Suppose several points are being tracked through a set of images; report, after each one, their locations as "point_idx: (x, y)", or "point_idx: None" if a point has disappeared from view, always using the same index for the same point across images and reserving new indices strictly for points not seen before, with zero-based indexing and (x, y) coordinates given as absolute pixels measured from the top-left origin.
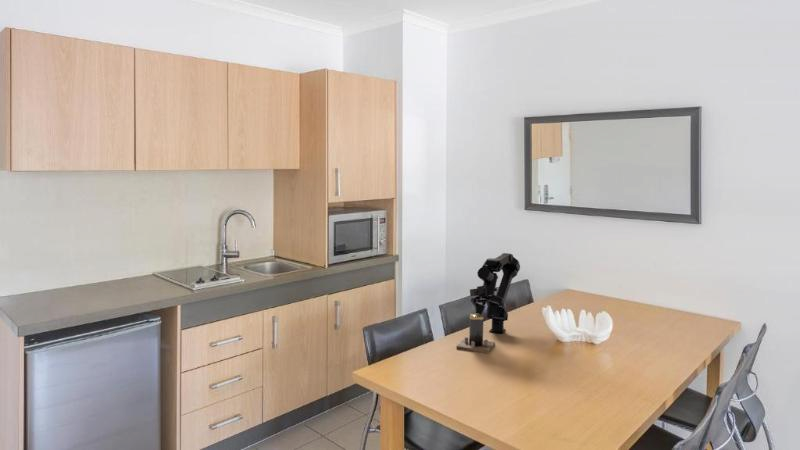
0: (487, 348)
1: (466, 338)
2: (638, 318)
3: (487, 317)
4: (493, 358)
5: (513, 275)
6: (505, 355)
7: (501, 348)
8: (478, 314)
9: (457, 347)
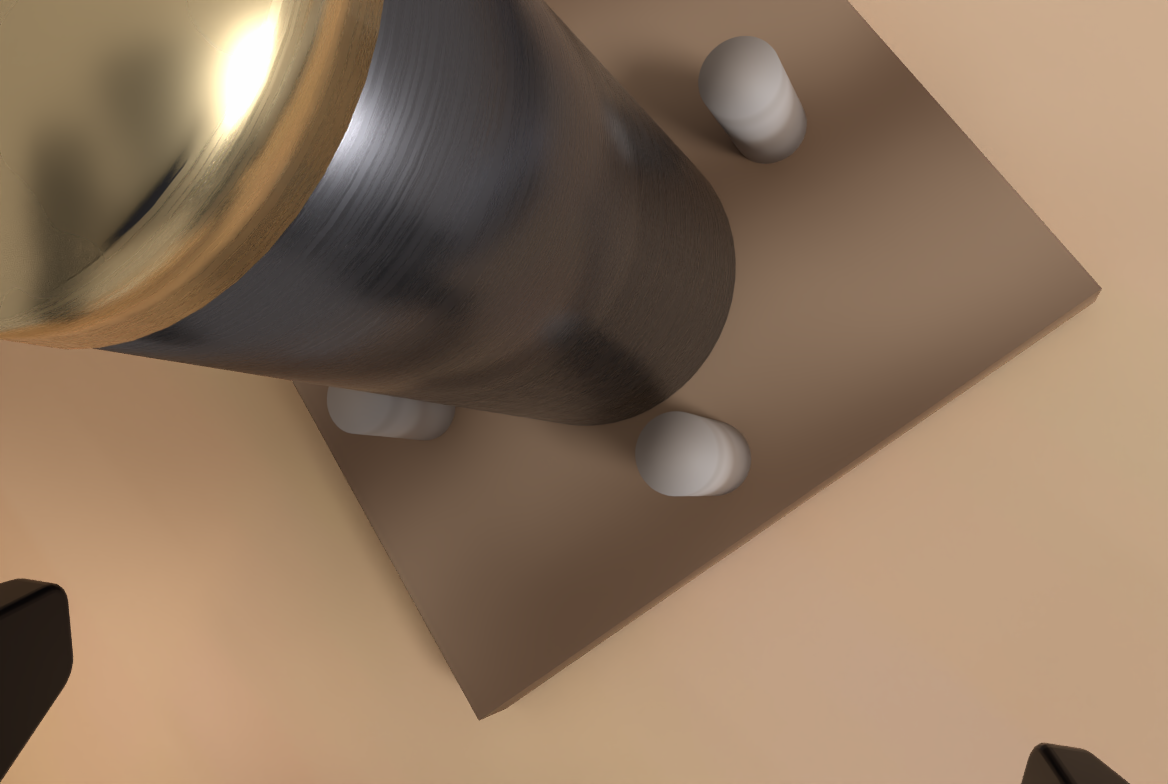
0: None
1: (708, 68)
2: None
3: (3, 590)
4: None
5: None
6: (108, 496)
7: (336, 683)
8: (56, 153)
9: None
